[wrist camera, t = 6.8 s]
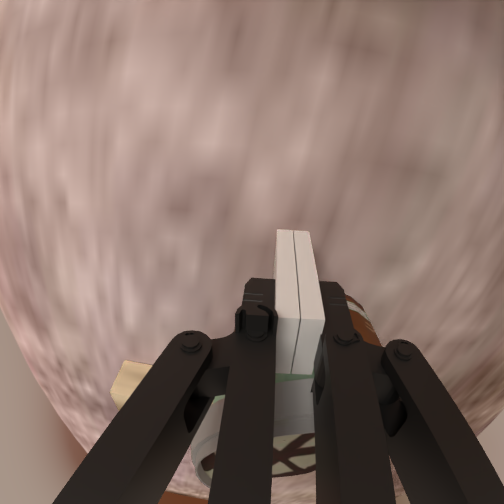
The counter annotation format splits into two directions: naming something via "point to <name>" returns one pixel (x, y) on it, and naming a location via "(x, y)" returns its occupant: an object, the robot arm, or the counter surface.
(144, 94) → the counter surface
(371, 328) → the food container
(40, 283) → the counter surface
